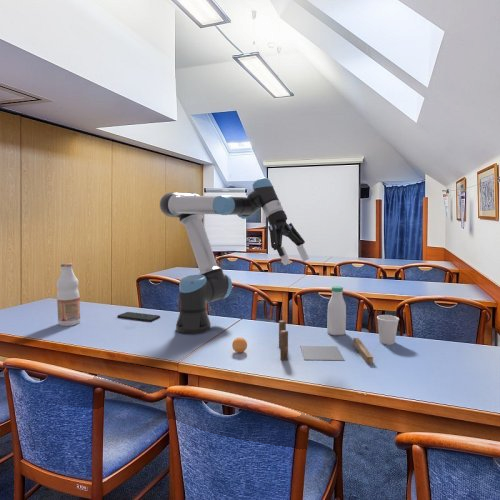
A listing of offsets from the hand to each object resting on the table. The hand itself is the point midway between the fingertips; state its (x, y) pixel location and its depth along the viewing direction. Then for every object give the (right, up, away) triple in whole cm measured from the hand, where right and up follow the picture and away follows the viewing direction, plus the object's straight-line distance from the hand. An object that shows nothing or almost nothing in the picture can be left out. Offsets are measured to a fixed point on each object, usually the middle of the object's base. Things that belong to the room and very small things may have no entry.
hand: (297, 262), depth 152 cm
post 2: (-6, -34, -14) cm, 37 cm away
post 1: (-6, -33, -1) cm, 33 cm away
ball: (-22, -30, -7) cm, 38 cm away
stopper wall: (+23, -33, -8) cm, 41 cm away
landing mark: (+8, -33, -8) cm, 35 cm away
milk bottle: (+19, -31, +16) cm, 40 cm away
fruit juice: (-102, -30, +30) cm, 110 cm away
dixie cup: (+36, -32, +4) cm, 49 cm away
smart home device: (-73, -29, +40) cm, 88 cm away
